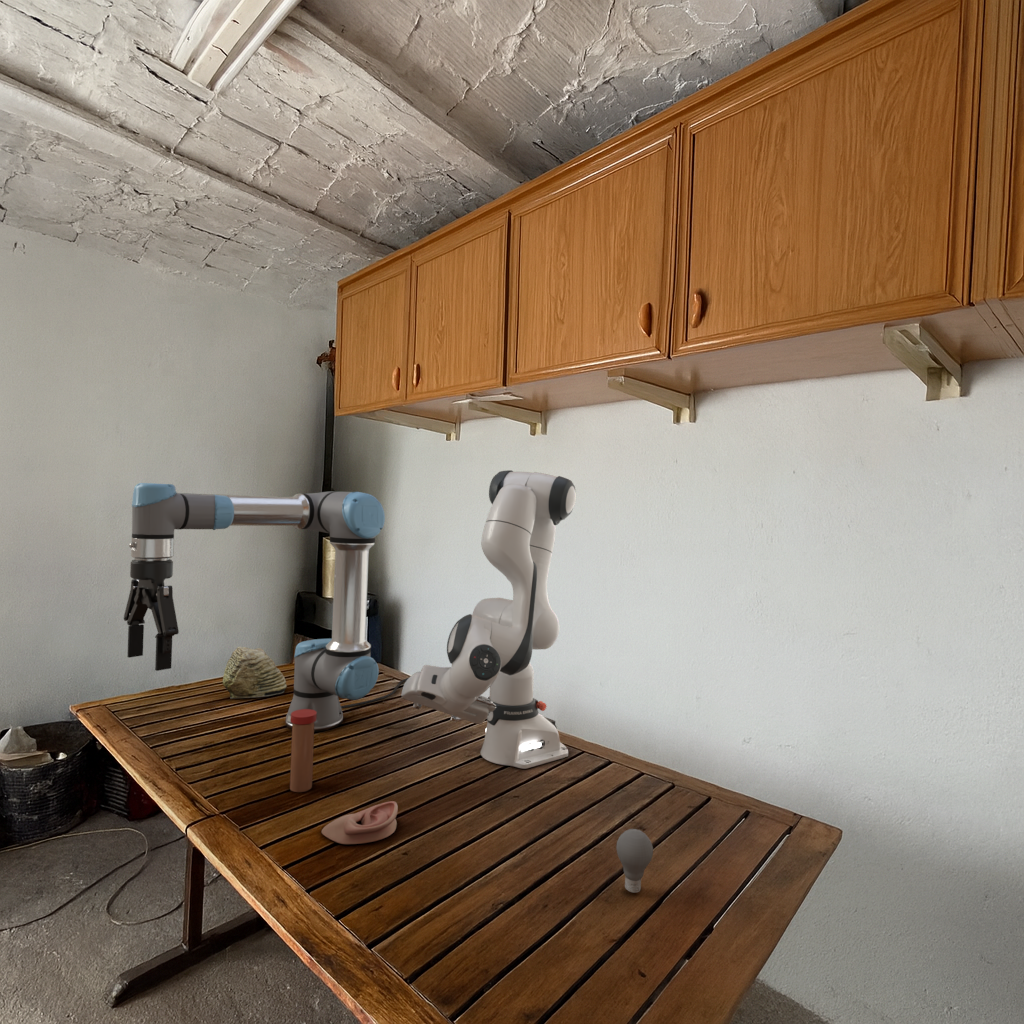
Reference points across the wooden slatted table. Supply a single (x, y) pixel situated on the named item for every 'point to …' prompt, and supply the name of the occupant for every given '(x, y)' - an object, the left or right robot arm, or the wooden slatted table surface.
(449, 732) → the wooden slatted table surface
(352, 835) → the anatomical model
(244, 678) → the fossil
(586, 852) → the wooden slatted table surface
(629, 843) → the light bulb
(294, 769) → the jar
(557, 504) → the right robot arm
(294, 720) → the lid
